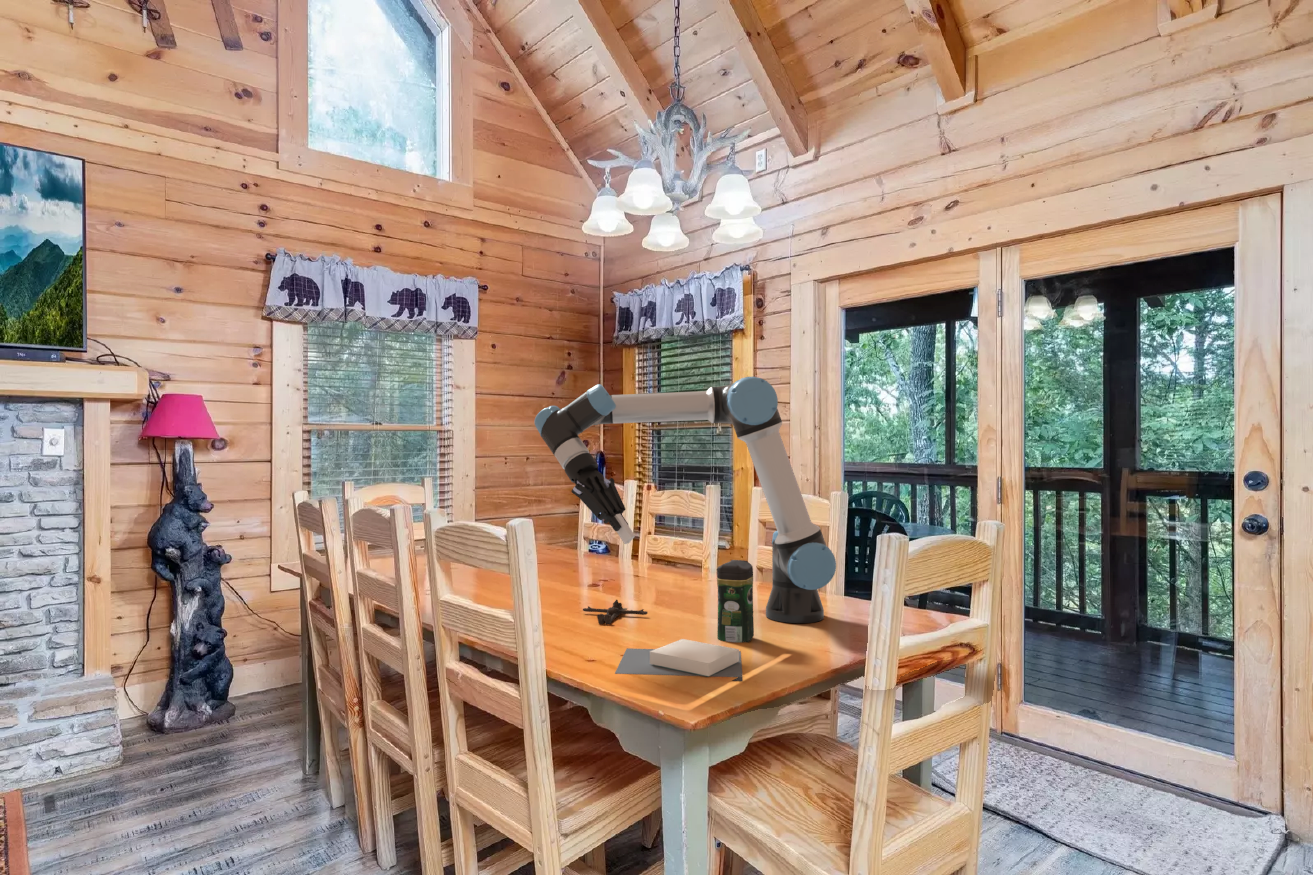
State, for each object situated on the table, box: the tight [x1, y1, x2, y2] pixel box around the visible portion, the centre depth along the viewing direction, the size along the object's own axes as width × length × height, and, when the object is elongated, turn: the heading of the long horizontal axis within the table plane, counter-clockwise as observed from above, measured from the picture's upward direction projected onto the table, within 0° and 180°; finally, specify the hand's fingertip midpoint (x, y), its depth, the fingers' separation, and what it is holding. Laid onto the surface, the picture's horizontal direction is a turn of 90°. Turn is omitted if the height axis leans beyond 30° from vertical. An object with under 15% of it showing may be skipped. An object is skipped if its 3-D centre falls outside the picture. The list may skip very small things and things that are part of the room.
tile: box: [650, 638, 740, 678], centre depth 153 cm, size 3×12×14 cm
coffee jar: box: [716, 559, 755, 644], centre depth 175 cm, size 10×8×19 cm
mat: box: [614, 647, 744, 682], centre depth 155 cm, size 25×18×1 cm
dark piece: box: [582, 599, 648, 626], centre depth 197 cm, size 18×4×14 cm
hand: (630, 539), depth 170 cm, fingers closed
